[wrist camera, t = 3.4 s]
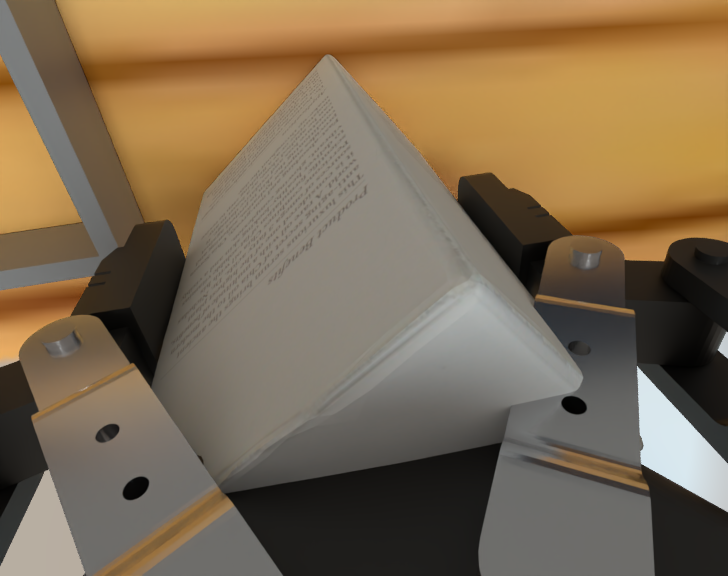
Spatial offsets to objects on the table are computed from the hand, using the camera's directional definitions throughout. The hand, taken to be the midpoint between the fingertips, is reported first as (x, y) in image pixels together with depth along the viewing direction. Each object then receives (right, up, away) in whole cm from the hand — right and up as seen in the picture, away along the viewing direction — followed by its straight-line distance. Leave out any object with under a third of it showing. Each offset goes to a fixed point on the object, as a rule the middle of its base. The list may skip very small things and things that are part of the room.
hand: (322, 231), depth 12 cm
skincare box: (-1, +3, +4) cm, 5 cm away
